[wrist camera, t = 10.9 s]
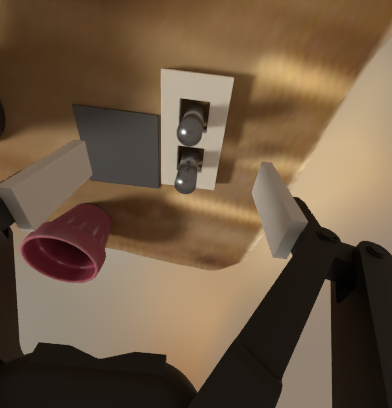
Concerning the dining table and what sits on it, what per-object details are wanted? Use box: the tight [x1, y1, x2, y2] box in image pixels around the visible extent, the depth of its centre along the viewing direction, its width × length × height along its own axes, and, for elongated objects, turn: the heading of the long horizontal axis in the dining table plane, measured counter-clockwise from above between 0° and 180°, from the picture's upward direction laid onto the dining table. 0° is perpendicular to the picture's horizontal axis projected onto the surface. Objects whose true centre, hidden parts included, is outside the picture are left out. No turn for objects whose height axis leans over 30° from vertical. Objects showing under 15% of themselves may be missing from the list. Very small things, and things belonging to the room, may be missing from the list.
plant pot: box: [20, 204, 112, 283], centre depth 42 cm, size 14×14×13 cm
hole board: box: [161, 68, 234, 190], centre depth 33 cm, size 10×18×2 cm, turn 174°
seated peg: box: [174, 147, 199, 194], centre depth 31 cm, size 3×3×11 cm
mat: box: [72, 105, 159, 189], centre depth 36 cm, size 14×14×1 cm
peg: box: [177, 104, 205, 147], centre depth 27 cm, size 3×3×11 cm
